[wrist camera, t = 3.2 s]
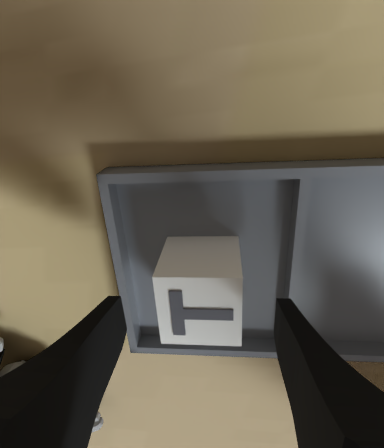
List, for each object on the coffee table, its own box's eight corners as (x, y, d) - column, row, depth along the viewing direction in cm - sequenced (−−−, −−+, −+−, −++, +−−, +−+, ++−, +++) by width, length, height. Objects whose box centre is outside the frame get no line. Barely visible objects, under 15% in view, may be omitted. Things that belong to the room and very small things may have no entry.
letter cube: (237, 294, 18) (241, 347, 14) (173, 293, 18) (160, 345, 15) (238, 236, 16) (243, 279, 13) (167, 236, 17) (151, 278, 13)
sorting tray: (445, 345, 19) (462, 365, 17) (136, 335, 21) (130, 352, 19) (522, 153, 14) (556, 160, 12) (106, 167, 16) (96, 174, 14)
